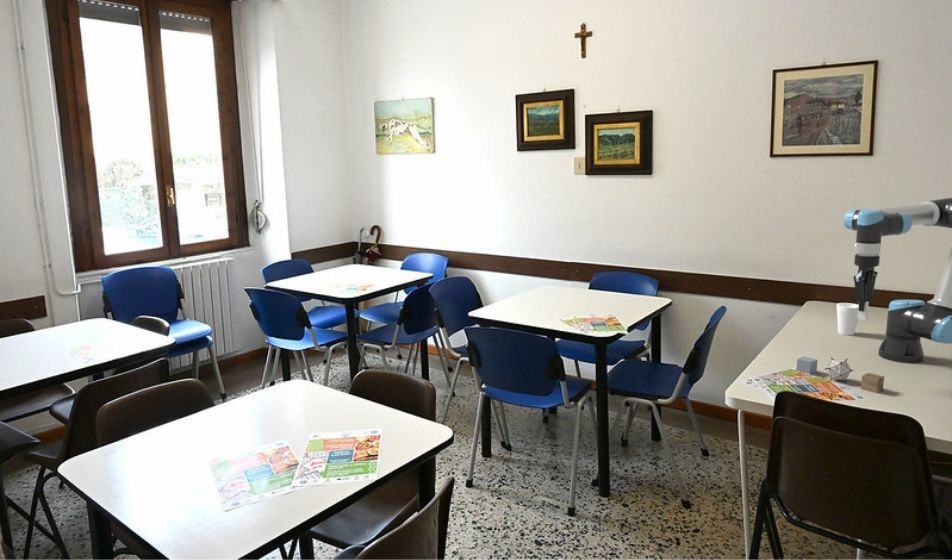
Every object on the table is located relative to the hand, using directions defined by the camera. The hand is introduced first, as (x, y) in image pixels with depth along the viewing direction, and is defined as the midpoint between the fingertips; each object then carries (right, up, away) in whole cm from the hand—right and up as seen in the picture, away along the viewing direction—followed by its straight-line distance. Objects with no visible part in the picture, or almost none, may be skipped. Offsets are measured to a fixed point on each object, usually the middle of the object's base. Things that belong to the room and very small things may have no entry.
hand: (862, 319), depth 234 cm
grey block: (-14, -20, +12) cm, 27 cm away
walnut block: (-1, -24, -7) cm, 25 cm away
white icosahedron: (-7, -22, +2) cm, 24 cm away
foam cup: (+28, -10, +60) cm, 67 cm away
